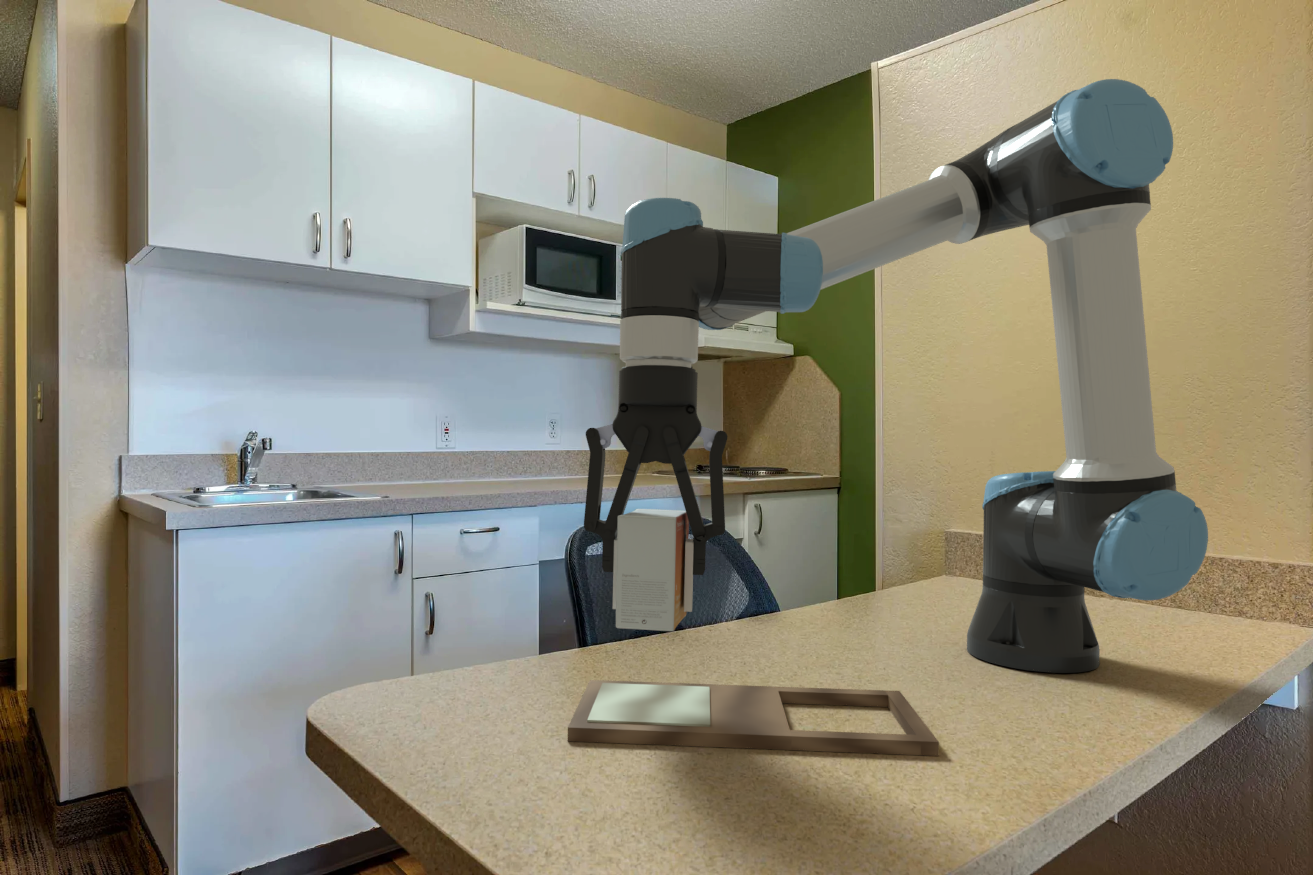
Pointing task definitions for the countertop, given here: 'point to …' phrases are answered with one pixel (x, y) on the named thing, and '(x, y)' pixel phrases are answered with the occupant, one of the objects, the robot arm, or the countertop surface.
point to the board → (736, 717)
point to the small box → (651, 569)
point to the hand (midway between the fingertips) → (653, 606)
